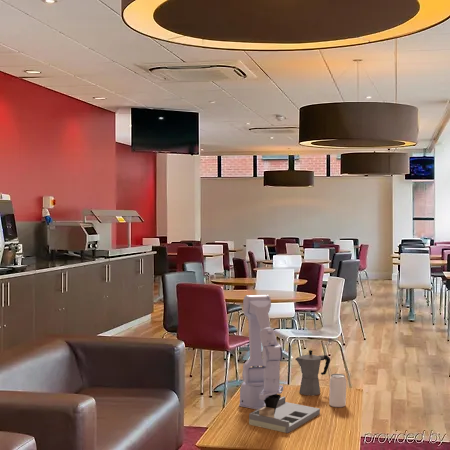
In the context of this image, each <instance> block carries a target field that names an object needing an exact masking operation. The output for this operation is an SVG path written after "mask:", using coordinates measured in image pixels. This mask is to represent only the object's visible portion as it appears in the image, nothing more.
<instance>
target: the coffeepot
mask: <svg viewBox="0 0 450 450" xmlns="http://www.w3.org/2000/svg"><path fill="white" fill-rule="evenodd" d="M324 360H325V365H324V368H323V371H322V372H320V366H321V361H324ZM295 361H296V362H297V363H298V365H299V367H300V371H301V380H300V381H301V382H300V387H299V394H301V395H304V396H310V397H311V396H313V397H314V396H319V395H320V393H321V388H320V380H319V374H320V375H322V376H324V375H326V374H327V371H328V368H329V366H330V364H331V358H330V357H329V355H326V354H324V355H316V354H313V350H311V349H310V350H308V354H303V355H300V356H297V357H296V358H295Z"/></svg>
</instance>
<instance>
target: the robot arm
mask: <svg viewBox="0 0 450 450" xmlns="http://www.w3.org/2000/svg"><path fill="white" fill-rule="evenodd" d="M242 304H243V306H242V307H243V308H242V309H243V316H244V317H247V320H248V339H249V340H248V341H249V342H248V345H249V347H248V349H249V359H247V360H246V361H245V362H244V363H243V366H242V374H241V375H242V380H243V382H242V383H241V384H240V389H239V404H238V407H243V408H249V409H252V410H257V409H259V408H261V407H263V406H265V405H266V407H269V408H274V414H275V410H276V406H277V403H278V401H279V399H280V398H281V394H283V391H284V385H281V384H280V383H281V382H280V376H281V375H280V373H281V372H280V371H281V362H282V361H283V355H284V354H283V349H282V346H281V344H280V342H278V340H277V336H276V333H275V330H274V328H272V327H271V322H270V317H269V316H270V315H269V313H270V310H271V307H272V299H271V296H270V295H269V294H254V295H253V294H250V295H249V294H246V295H245V296H244V298H243V302H242ZM280 361H281V362H280Z"/></svg>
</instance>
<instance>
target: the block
mask: <svg viewBox="0 0 450 450" xmlns="http://www.w3.org/2000/svg"><path fill="white" fill-rule="evenodd" d="M259 415H262V416H267V417H272V418H274V408H269V407H263V408H261V409H259Z"/></svg>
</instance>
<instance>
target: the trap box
mask: <svg viewBox="0 0 450 450" xmlns="http://www.w3.org/2000/svg"><path fill="white" fill-rule="evenodd" d="M263 407H266V405H265V406H263ZM263 407H261V408H263ZM261 408H259V409H261ZM259 409H257V410H256V409H254V410H253V411H252V412H249V413H248V414H249V415H248V425H249V426H254V427H259V428H262V429H263V428H264V429H267V430H272V431H276V432H281V433H286V434H290V433H291V432H292V431H294V430H296V429H298V428H299V427H301V426H302V425H304V424H305V423H307V422H309V421H311V420H313V419H314V418H315V417H317V416H319V415H320V414H321V408H318V407H312V406H309V405H308V406H307V405H303V404H298V403H293V402H288V401H286V396H282V397H281V398H280V399H279V401H278V403H277V406H276V410H275V414H274V418H272V417H267V416H262V415H259Z"/></svg>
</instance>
